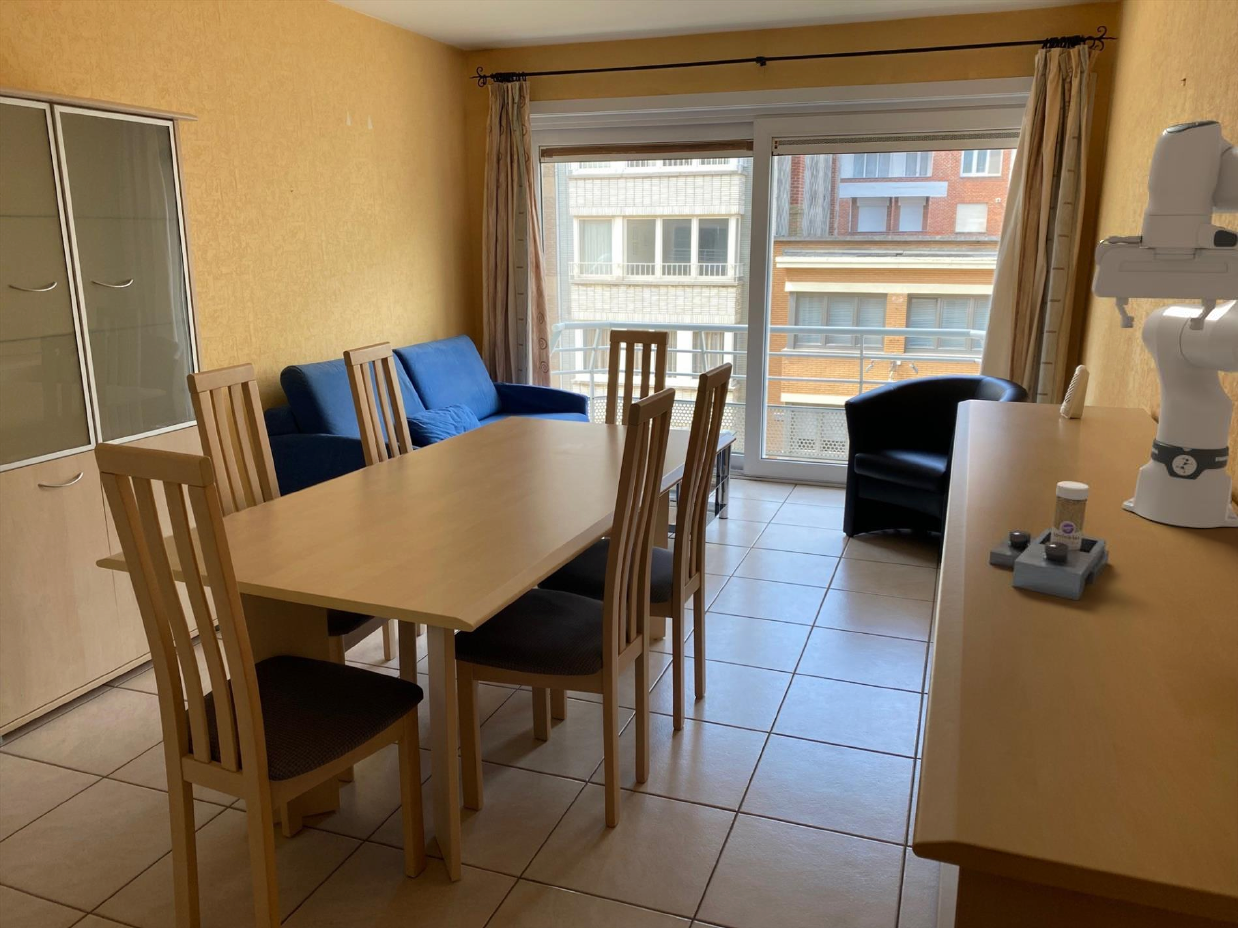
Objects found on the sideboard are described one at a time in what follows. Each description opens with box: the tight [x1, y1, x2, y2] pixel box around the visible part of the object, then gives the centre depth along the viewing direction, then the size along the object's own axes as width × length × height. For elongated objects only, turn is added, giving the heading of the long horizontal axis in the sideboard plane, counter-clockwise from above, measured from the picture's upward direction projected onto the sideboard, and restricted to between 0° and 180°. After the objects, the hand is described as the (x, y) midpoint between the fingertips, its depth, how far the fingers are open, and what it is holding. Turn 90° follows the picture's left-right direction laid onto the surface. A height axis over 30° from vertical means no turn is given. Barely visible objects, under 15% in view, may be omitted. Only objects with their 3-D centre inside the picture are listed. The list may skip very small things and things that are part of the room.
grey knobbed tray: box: [988, 529, 1110, 585], centre depth 145 cm, size 12×15×4 cm
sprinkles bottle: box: [1050, 480, 1090, 551], centre depth 143 cm, size 5×5×14 cm
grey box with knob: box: [1011, 528, 1107, 601], centre depth 140 cm, size 19×9×6 cm, turn 143°
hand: (1160, 328), depth 139 cm, fingers open, 8 cm apart
